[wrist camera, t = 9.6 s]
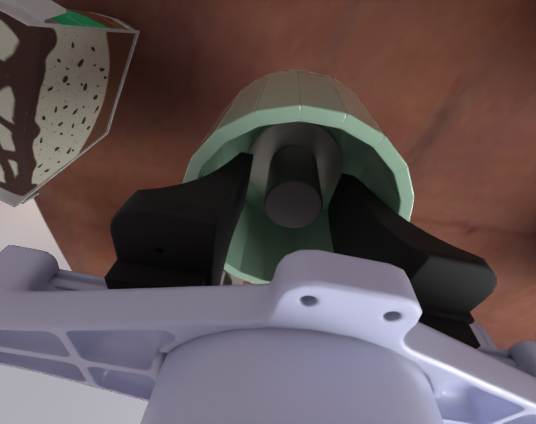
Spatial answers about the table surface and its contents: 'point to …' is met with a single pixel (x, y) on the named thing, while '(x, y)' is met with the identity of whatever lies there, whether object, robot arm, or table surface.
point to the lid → (294, 170)
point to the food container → (55, 88)
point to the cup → (312, 111)
